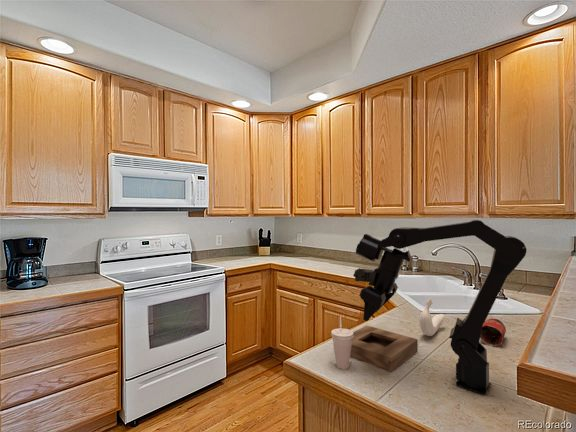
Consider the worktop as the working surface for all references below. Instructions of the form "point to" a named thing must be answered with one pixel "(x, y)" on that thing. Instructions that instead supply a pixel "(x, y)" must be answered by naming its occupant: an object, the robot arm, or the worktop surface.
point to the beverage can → (493, 331)
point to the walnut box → (382, 348)
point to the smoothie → (342, 345)
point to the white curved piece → (430, 320)
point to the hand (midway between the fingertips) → (369, 315)
